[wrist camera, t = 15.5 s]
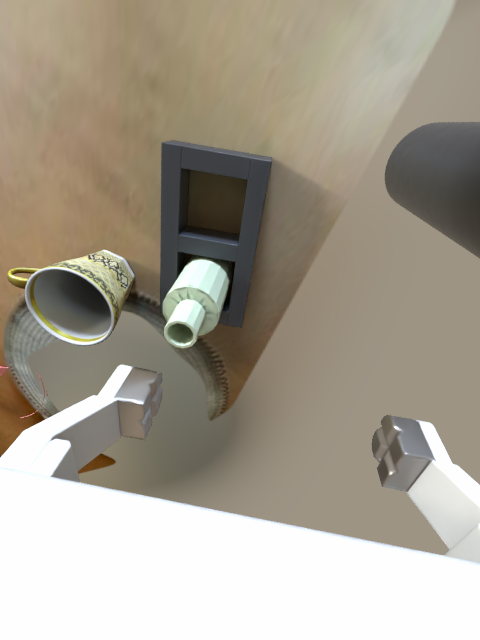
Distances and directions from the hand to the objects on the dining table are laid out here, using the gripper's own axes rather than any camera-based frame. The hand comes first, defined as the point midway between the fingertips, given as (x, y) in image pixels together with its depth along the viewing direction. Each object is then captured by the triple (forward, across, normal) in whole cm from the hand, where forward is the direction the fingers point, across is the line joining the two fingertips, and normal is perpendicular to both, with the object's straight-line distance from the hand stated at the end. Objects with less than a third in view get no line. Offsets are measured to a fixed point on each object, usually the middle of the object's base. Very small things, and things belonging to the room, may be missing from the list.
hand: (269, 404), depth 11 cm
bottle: (+30, +8, +9) cm, 32 cm away
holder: (+30, +8, +4) cm, 31 cm away
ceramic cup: (+29, +22, +11) cm, 39 cm away
